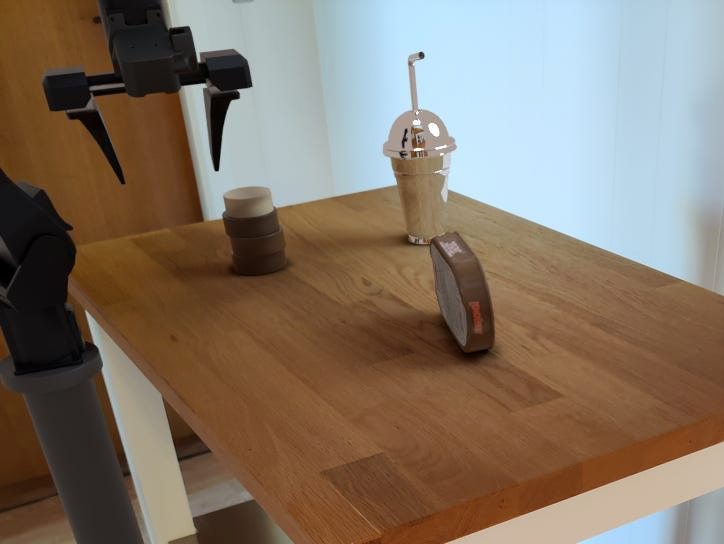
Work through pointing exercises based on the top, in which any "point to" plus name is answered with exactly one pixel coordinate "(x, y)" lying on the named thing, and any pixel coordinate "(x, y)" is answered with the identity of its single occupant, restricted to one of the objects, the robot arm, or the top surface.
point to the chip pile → (256, 243)
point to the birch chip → (248, 202)
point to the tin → (463, 292)
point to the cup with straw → (421, 166)
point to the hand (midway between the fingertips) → (170, 177)
